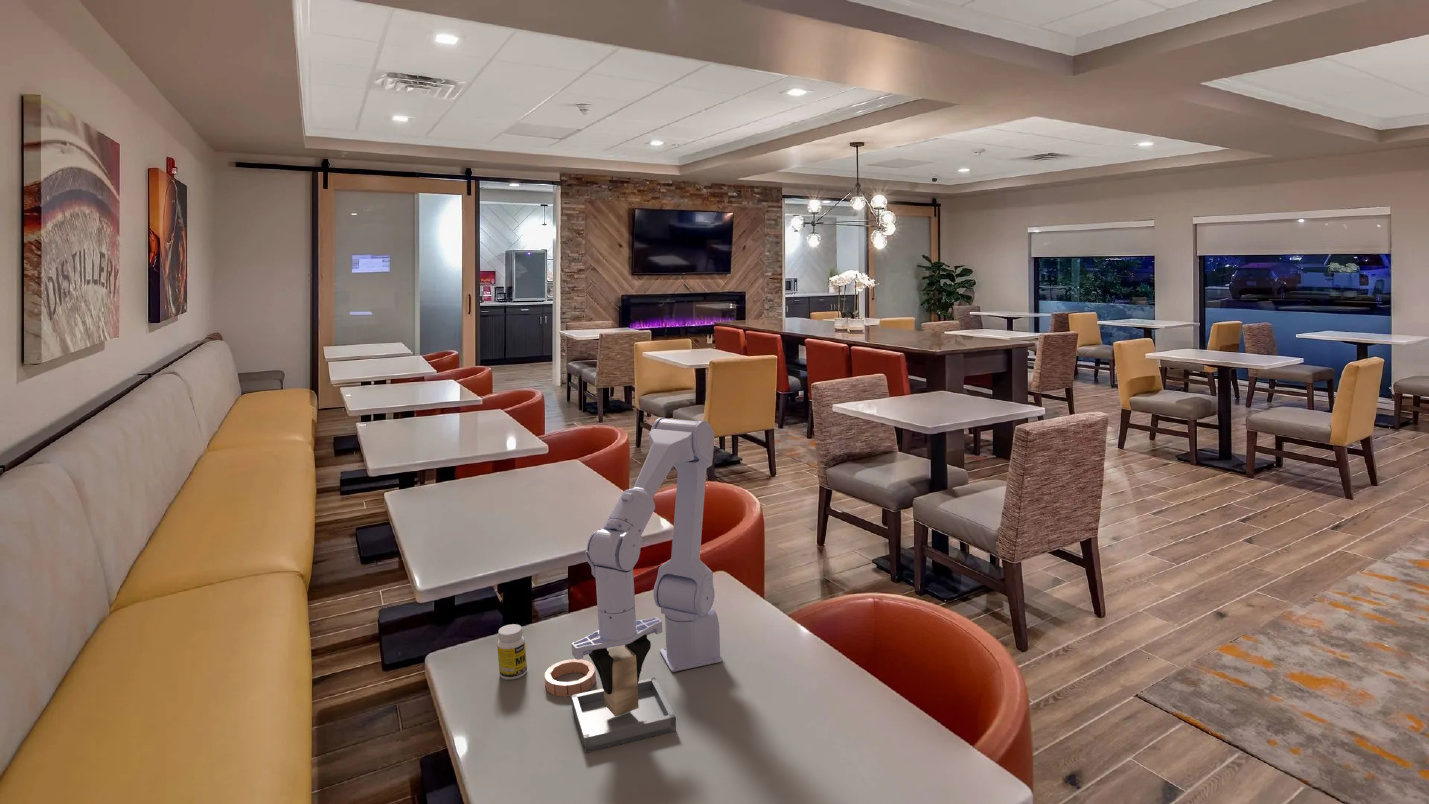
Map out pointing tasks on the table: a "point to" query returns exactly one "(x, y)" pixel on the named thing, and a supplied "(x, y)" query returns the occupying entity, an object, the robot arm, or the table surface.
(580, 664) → the segmented block ring
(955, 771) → the table surface
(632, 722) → the tray
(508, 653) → the supplement bottle
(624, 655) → the oak peg
